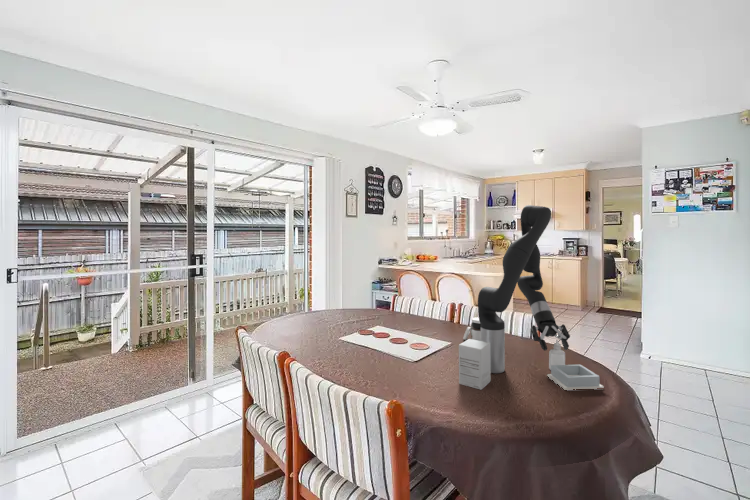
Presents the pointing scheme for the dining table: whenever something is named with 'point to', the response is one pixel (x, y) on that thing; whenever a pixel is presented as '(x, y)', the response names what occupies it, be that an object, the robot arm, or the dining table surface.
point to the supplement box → (474, 363)
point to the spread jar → (474, 330)
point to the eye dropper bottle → (556, 355)
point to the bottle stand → (574, 377)
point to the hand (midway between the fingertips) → (556, 349)
